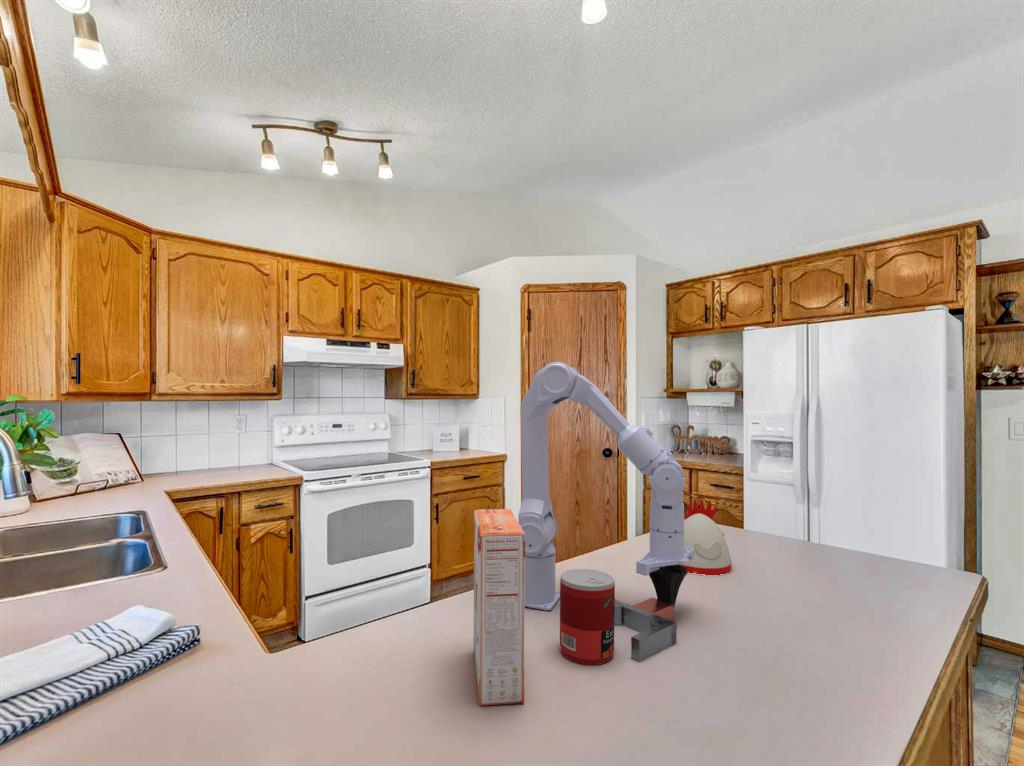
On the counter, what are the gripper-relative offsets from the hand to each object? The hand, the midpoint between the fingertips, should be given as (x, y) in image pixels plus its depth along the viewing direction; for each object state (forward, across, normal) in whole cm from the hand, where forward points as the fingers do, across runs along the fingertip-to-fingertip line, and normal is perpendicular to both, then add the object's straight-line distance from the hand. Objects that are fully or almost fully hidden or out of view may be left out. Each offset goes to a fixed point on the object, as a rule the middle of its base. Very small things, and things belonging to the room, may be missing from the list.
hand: (666, 608), depth 89 cm
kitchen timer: (+2, +30, +12) cm, 33 cm away
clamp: (+1, -9, 0) cm, 9 cm away
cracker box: (+2, -35, +3) cm, 35 cm away
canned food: (+2, -20, 0) cm, 20 cm away
